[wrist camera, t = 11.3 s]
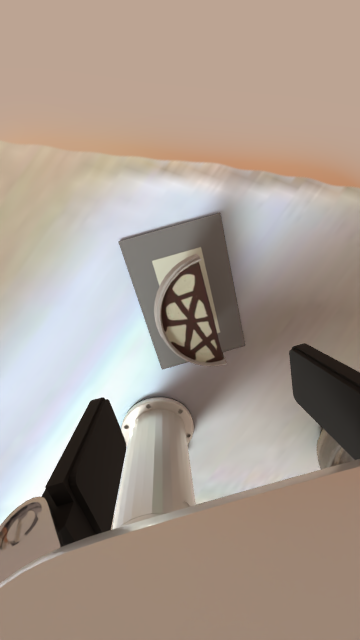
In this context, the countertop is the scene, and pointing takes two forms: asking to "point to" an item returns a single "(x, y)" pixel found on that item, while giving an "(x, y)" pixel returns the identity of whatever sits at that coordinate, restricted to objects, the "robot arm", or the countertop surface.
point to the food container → (187, 315)
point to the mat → (167, 251)
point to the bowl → (330, 452)
